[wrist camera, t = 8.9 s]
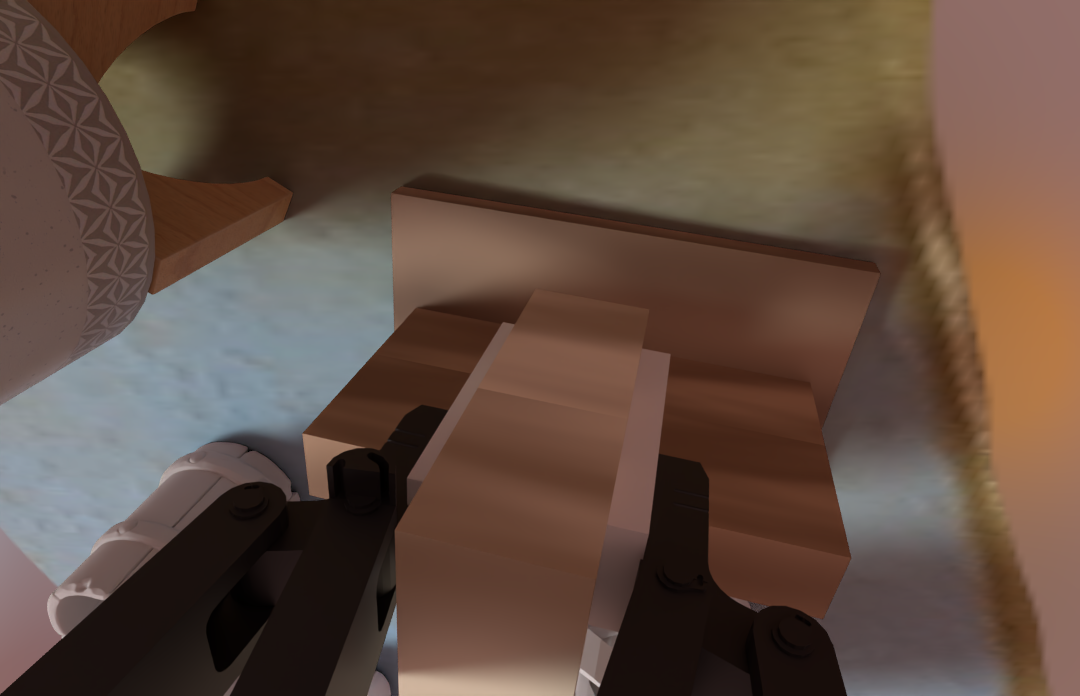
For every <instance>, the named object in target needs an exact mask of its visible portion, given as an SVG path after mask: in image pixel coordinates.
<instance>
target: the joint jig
mask: <svg viewBox="0 0 1080 696" xmlns="http://www.w3.org/2000/svg"><path fill="white" fill-rule="evenodd" d="M391 215H392V255H393V294H394V333H393V334H392V335H391V336H390V337H389V338H388V339H387V340H386V342H385V343H384V344H383V345H382V346H381V347H380V348H379V349H378V350H377V352H376V353H375V354H374V355H373V356H372V357H371V358H370V359H369V360H368V361H367V363H366V364H365V365H364V366H363V367H362V368H361V369H360V370H359V371H358V373H357V374H356V375H355V376H354V377H353V378H352V379H351V380H350V381H349V382H348V384H347V385H346V386H345V387H344V388H343V389H342V390H341V391H340V392H339V394H338V395H337V396H336V397H335V398H334V399H333V400H332V401H331V402H330V404H329V405H328V406H327V407H326V408H325V409H324V410H323V411H322V412H321V413H320V415H319V416H318V417H317V418H316V419H315V420H314V421H313V422H312V423H311V425H310V426H309V427H308V428H307V429H306V430H305V431H304V432H303V433H302V435H303V443H304V452H305V460H306V469H307V478H308V486H309V495H311V496H315V497H320V498H324V499H329V491H328V480H327V470H326V465H327V464H328V463H329V462H330V461H331V460H332V458H333V457H335V456H337V455H339V454H340V453H342V452H344V451H348V450H352V449H356V448H373V449H377V450H380V449H381V448H382V446H383V445H384V444H385V442H387V440H388V438H389V437H390V435H391V434H392V432H393V431H395V428H396V427H397V425H398V424H399V423H400V421H401V420H402V418H403V417H404V416H405V414H407V413H409V412H410V411H412V410H414V409H415V408H417V407H418V406H420V405H427V406H432V407H436V408H441V409H446V410H449V409H450V407H451V406H452V404H453V402H454V401H455V399H456V398H457V396H458V394H459V393H460V391H461V389H462V388H463V386H464V385H465V383H466V381H467V380H468V378H469V376H470V375H471V373H472V372H473V370H474V368H475V367H476V365H477V363H478V362H479V360H480V359H481V357H482V355H483V354H484V352H485V351H486V349H487V347H488V346H489V344H490V342H491V341H492V339H493V338H494V336H495V334H496V333H497V331H498V329H499V328H500V326H501V325H502V323H503V322H505V323H510V324H515V323H516V322H517V320H518V318H519V317H520V315H521V313H522V311H523V310H524V308H525V306H526V305H527V303H528V301H529V300H530V298H531V296H532V294H533V293H534V291H535V289H540V290H546V291H551V292H557V293H562V294H568V295H573V296H579V297H584V298H590V299H595V300H601V301H606V302H612V303H617V304H623V305H628V306H634V307H639V308H645V309H650V310H649V315H648V320H647V325H646V330H645V335H644V341H643V346H642V349H647V350H652V351H657V352H663V353H668V354H671V355H670V363H669V372H668V380H667V388H666V396H665V405H664V413H663V421H662V429H661V438H660V446H659V454H663V455H668V456H672V457H677V458H682V459H686V460H691V461H696V462H700V463H701V465H702V467H703V468H704V470H705V472H706V474H707V476H708V478H709V512H708V513H709V544H708V564H709V571H710V573H711V575H712V578H713V580H714V581H715V582H716V584H717V585H718V586H719V588H720V589H721V590H722V591H723V592H725V593H726V594H727V595H728V596H729V597H733V598H737V599H741V600H745V601H750V602H754V603H758V604H762V605H766V606H788V607H791V608H794V609H797V610H801V611H802V612H804V613H806V614H807V615H809V616H812V617H816V618H820V619H823V618H824V616H825V614H826V612H827V609H828V607H829V605H830V603H831V601H832V599H833V597H834V594H835V592H836V590H837V588H838V586H839V584H840V581H841V579H842V577H843V575H844V573H845V571H846V569H847V566H848V564H849V562H850V560H851V554H850V550H849V546H848V542H847V537H846V533H845V529H844V525H843V520H842V516H841V512H840V507H839V503H838V499H837V495H836V490H835V486H834V482H833V478H832V473H831V469H830V465H829V460H828V456H827V452H826V448H825V443H824V439H823V435H822V431H821V430H822V427H823V425H824V422H825V419H826V417H827V414H828V411H829V409H830V406H831V404H832V401H833V398H834V396H835V393H836V390H837V388H838V385H839V382H840V380H841V377H842V375H843V372H844V369H845V367H846V364H847V361H848V359H849V356H850V354H851V351H852V348H853V346H854V343H855V340H856V338H857V335H858V332H859V330H860V327H861V325H862V322H863V319H864V317H865V314H866V311H867V309H868V306H869V303H870V301H871V298H872V296H873V293H874V290H875V288H876V285H877V282H878V280H879V277H880V275H881V273H880V271H879V269H878V267H877V266H876V264H875V263H873V262H867V261H860V260H854V259H848V258H842V257H836V256H830V255H823V254H817V253H811V252H805V251H799V250H792V249H786V248H780V247H774V246H768V245H762V244H755V243H749V242H743V241H737V240H731V239H724V238H718V237H712V236H706V235H700V234H693V233H687V232H681V231H675V230H669V229H663V228H656V227H650V226H644V225H638V224H632V223H625V222H619V221H613V220H607V219H601V218H594V217H588V216H582V215H576V214H570V213H564V212H557V211H551V210H545V209H539V208H533V207H526V206H520V205H514V204H508V203H502V202H496V201H489V200H483V199H477V198H471V197H465V196H458V195H452V194H446V193H440V192H434V191H427V190H421V189H415V188H409V187H403V186H401V187H400V188H398V189H397V190H395V191H394V192H392V193H391Z"/></svg>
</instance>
